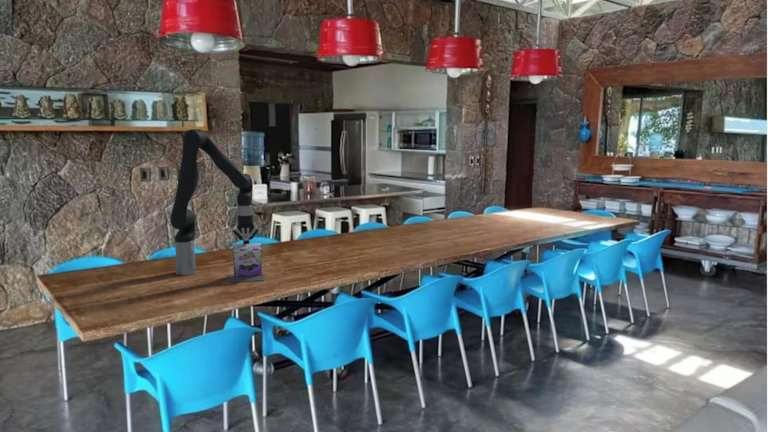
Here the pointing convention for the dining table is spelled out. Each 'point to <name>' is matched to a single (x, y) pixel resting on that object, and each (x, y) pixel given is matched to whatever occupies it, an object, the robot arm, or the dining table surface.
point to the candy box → (247, 259)
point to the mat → (246, 278)
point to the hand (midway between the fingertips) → (246, 247)
